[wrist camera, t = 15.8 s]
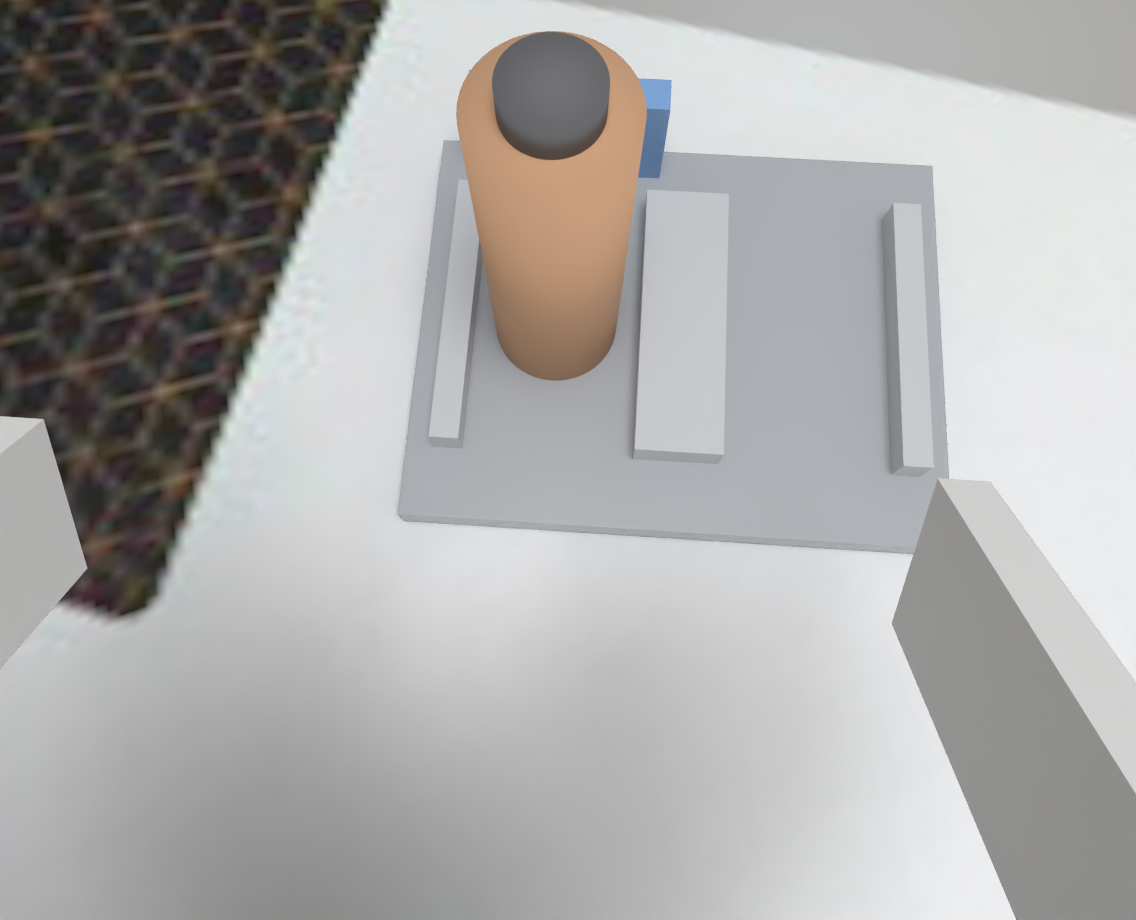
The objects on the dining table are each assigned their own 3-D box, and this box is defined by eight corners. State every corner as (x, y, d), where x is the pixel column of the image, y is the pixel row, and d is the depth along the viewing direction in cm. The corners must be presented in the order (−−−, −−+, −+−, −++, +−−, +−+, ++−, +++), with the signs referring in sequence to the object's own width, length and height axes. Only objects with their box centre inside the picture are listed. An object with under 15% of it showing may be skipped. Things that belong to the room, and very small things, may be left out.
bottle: (471, 317, 31) (410, 70, 19) (563, 247, 32) (563, -34, 20) (548, 404, 31) (538, 206, 18) (640, 330, 31) (692, 91, 19)
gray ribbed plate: (938, 555, 30) (1010, 526, 25) (404, 520, 31) (370, 486, 26) (920, 183, 34) (979, 95, 29) (448, 159, 35) (426, 67, 30)
